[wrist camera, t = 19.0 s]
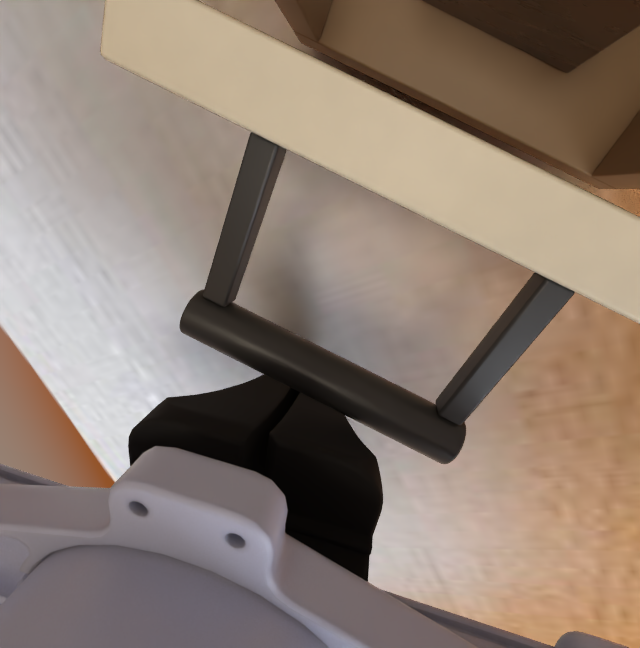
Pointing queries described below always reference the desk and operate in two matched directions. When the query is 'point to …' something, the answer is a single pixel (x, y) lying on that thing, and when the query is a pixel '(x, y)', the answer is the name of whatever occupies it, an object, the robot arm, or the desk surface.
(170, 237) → the desk surface
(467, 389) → the drawer
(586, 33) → the block
